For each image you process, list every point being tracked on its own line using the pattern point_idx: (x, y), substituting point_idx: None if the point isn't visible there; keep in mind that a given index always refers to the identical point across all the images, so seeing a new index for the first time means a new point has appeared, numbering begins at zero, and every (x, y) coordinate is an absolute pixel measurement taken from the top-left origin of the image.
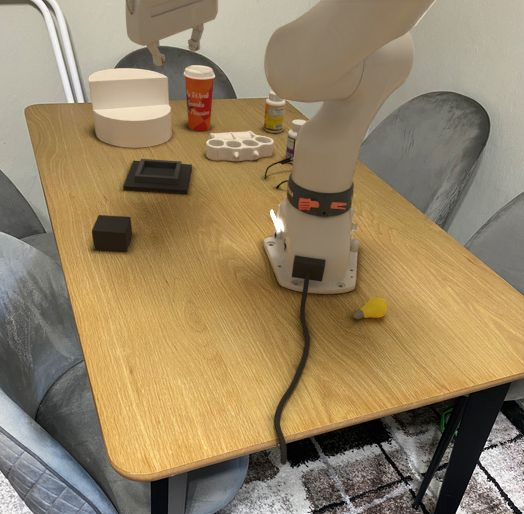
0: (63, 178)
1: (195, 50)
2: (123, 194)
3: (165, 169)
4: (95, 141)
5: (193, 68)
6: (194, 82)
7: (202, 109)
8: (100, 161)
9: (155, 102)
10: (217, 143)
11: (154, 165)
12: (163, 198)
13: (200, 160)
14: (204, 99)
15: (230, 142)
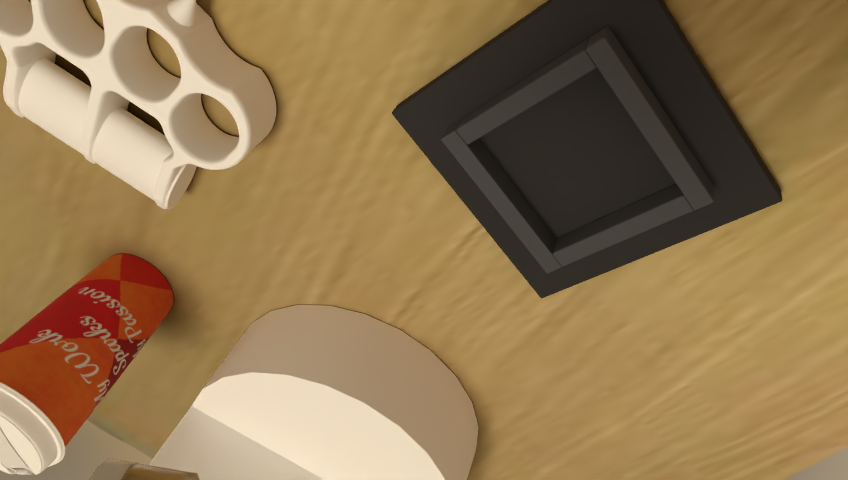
0: (824, 400)
1: (175, 475)
2: (820, 167)
3: (514, 164)
4: (494, 455)
5: (8, 454)
6: (54, 405)
7: (98, 311)
8: (609, 379)
9: (231, 439)
10: (189, 136)
11: (531, 212)
12: (744, 4)
13: (315, 124)
14: (65, 332)
15: (142, 94)
